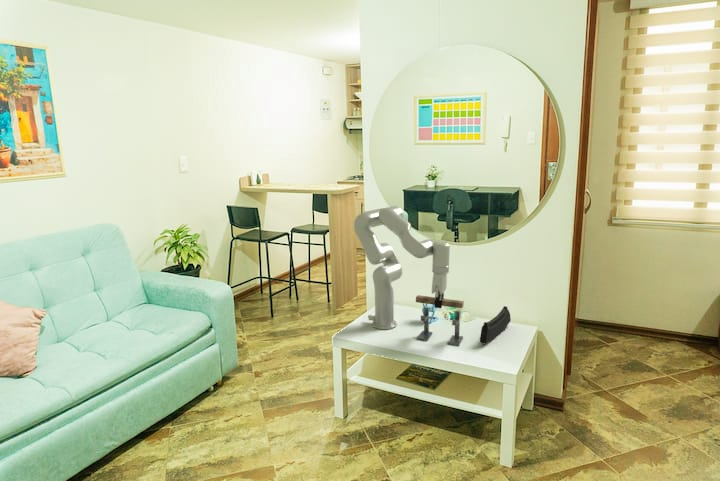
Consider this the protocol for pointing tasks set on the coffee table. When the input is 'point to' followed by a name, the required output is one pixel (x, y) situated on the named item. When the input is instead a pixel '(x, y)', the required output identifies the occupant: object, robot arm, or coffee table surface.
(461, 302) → the rail
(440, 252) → the robot arm
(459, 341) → the hook stand
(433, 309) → the chair
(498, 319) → the magazine
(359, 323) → the coffee table surface
